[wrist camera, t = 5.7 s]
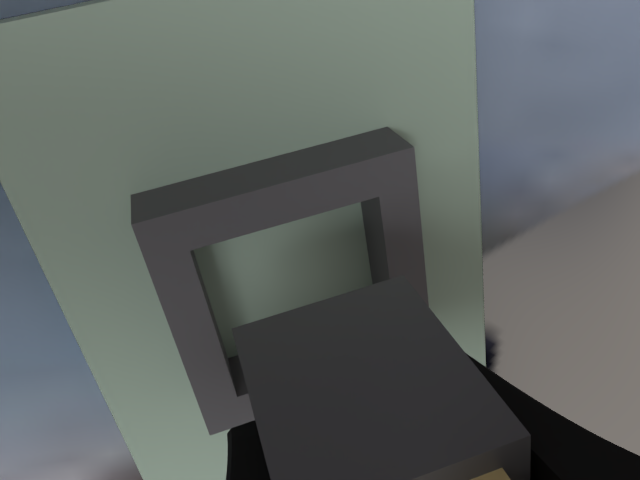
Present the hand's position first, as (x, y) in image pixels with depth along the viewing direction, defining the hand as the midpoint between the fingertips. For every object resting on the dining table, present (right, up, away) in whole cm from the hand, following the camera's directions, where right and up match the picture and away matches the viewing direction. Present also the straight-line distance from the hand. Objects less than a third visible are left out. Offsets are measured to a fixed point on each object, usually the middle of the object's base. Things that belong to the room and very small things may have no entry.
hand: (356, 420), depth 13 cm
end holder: (-2, +3, +7) cm, 9 cm away
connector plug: (0, +1, +1) cm, 2 cm away
